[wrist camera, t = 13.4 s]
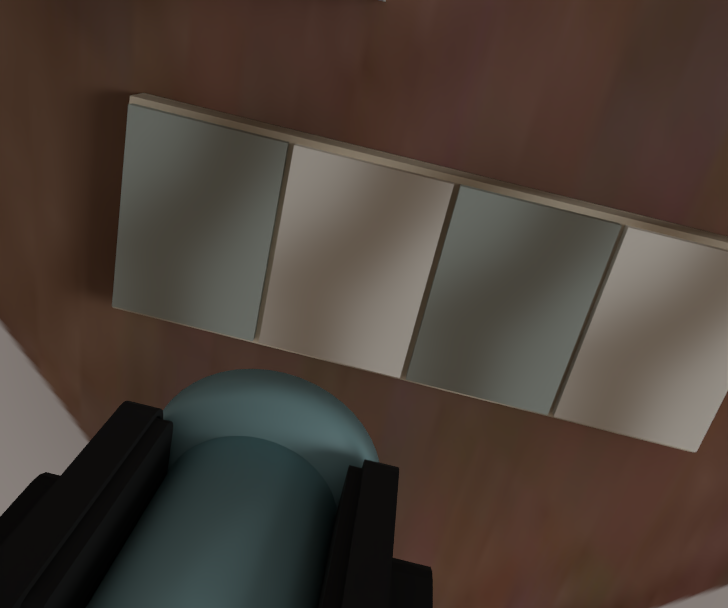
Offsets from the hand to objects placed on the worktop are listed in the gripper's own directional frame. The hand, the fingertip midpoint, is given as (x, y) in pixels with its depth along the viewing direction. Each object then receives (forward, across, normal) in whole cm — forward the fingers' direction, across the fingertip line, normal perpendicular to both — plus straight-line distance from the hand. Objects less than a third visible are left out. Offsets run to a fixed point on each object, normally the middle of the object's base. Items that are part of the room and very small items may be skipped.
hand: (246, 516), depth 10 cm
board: (+13, -3, 0) cm, 13 cm away
